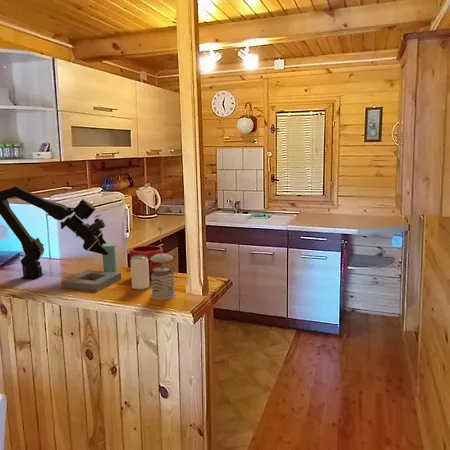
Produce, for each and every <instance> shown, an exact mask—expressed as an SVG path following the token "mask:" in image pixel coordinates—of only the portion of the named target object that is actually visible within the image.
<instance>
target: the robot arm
mask: <svg viewBox="0 0 450 450" xmlns="http://www.w3.org/2000/svg"><path fill="white" fill-rule="evenodd" d="M11 198H17V199H19V200H21V201H23V202H26V203H28V204H30V205H33V206H34V207H36V208H39V209H41V210H43V212H45V213H46V214H47V215H49V216H50V217H51V218H53V219H54V220H57V221H60V229H61V230H63V229H64V228H65V227H66V228H68V229H69V230H70V231H72V232H73V234H75V236H76V237H77V238H78V237H79V238H81V240H82V241H83V244H82V248H83V250H85V251H88V252H92V253H96V254H98V255H99V254H100V255H102V256H103V255H107V254H108V253H107V251H106V250H105V249H104V248H103V247H102V245H103V244H108V243H107V241H106V239H104V233H103V230H101V229H104V228H105V226H106V224H105V222H104V220H103V218H101V219H100V218H99V217H97V218H95V219H94V220H93V221H94V222H93V223H92V224H90V223H85V222H84V221H83V220H88V218H90V217H91V216H92V214H93V213H94V212H95V211H96V209H97V208H95V206H94V205H93V204H91V203H90V202H88V201H86V200H85V199H84V198H82V199H81V200H80V201H79V202H78V204H77V206H75V207H71V206H70V207H68V206H67V205H65V204H63V203H59V202H54V201H50V200H48V199H45V198H43V197H41V196H39V195H37V194H35V193H33V192H31V191H29V190H27V189H24V188H23V187H22V186H20V185H15V186H13V187H11V188H8V189H4V190H1V189H0V216H1V218H2V219H3V220H4V221H5V223H6V224H7V226H8V227H9V228H10V229H11V231H12V232H13V234H14V235H15V236H16V239H18V241H19V242H20V243H21V247H22V251H23V252H24V256H23V257H22V258H21V260H20V264H21V266H22V267H21V268H22V275H23V276H22V277H21V276H20V280H21V279H23V280H26V279H27V280H36V279H38V278H40V277H42V276H44V273H43V270H42V269H43V268H42V265H41V261H39V260H40V259H41V257H42V256H43V255H44V253H45V248H44V246H45V245H44V243H42V242H41V240H40V238H39V237H36V238H34V237H32V236H31V234H30V233H29V232H28V230H27V229H26V228H25V227H24V225H23V223H21V221H20V219H19V218H18V217H17V216H16V214H15V213H14V211H13V210H12V209H11V207H10V206H11V205H10V203H9V200H8V199H11ZM66 217H67V218H66ZM65 218H66V219H65ZM64 219H65V220H64ZM62 220H63V221H62Z"/></svg>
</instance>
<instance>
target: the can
mask: <svg viewBox="0 0 450 450" xmlns="http://www.w3.org/2000/svg"><path fill="white" fill-rule="evenodd" d="M130 272H131V287H132V289H134V290H137V291H142V290H146V289H148V288H149V287H150V279H149V269H148V259H147V256H146V255H135V256H132V259H131V258H130Z"/></svg>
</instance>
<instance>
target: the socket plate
mask: <svg viewBox="0 0 450 450" xmlns="http://www.w3.org/2000/svg"><path fill="white" fill-rule="evenodd" d="M121 279H122V272H118V271H117V272H106V271H104V270H95V269H94V270H93V269H86V270H84V271H81V272H80V273H78V274H75V275H72V276H70V277H68V278H66V279H63V280H61V286H62V287H61V288H64V289H72V290H73V289H74V290H84V291H91V292H92V291H93V292H99V291H101V290H103V289H104V288H107V287H108V286H111V285H113V284H115V283H116V282H118V281H121Z"/></svg>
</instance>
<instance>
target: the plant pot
mask: <svg viewBox="0 0 450 450" xmlns="http://www.w3.org/2000/svg"><path fill="white" fill-rule="evenodd" d="M161 248H162V253H164V249H163V247H162V246H157V245H139V246H133V247H131V248H130V249H129V250H130V252H129V256H130V260H131V259H132V256H135V255H146V256H147V259H148V269H149V280H152V278H151V274H152V273H153V271H152V269H153V268H155V267H162V266H163V262H153V261H151V260H150V258H151V257H153V256H154V255H156V254H160V253H161Z"/></svg>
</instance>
